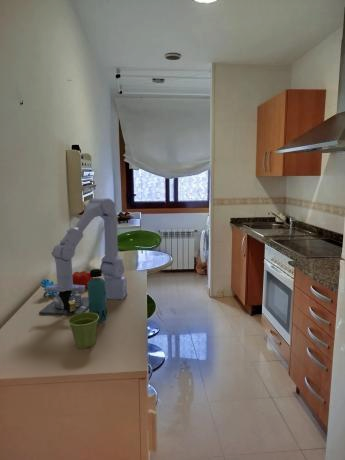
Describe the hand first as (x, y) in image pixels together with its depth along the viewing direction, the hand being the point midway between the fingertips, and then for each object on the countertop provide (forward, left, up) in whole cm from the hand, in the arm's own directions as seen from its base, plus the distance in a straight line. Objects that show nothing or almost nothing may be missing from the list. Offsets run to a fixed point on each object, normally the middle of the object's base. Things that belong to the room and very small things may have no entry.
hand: (66, 309), depth 128 cm
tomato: (+7, -32, -2) cm, 33 cm away
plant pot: (-16, +22, -2) cm, 27 cm away
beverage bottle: (-15, +7, -2) cm, 17 cm away
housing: (+2, -8, -2) cm, 8 cm away
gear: (+16, -20, -2) cm, 26 cm away
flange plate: (+2, -8, -2) cm, 8 cm away
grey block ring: (+1, -6, -1) cm, 6 cm away
